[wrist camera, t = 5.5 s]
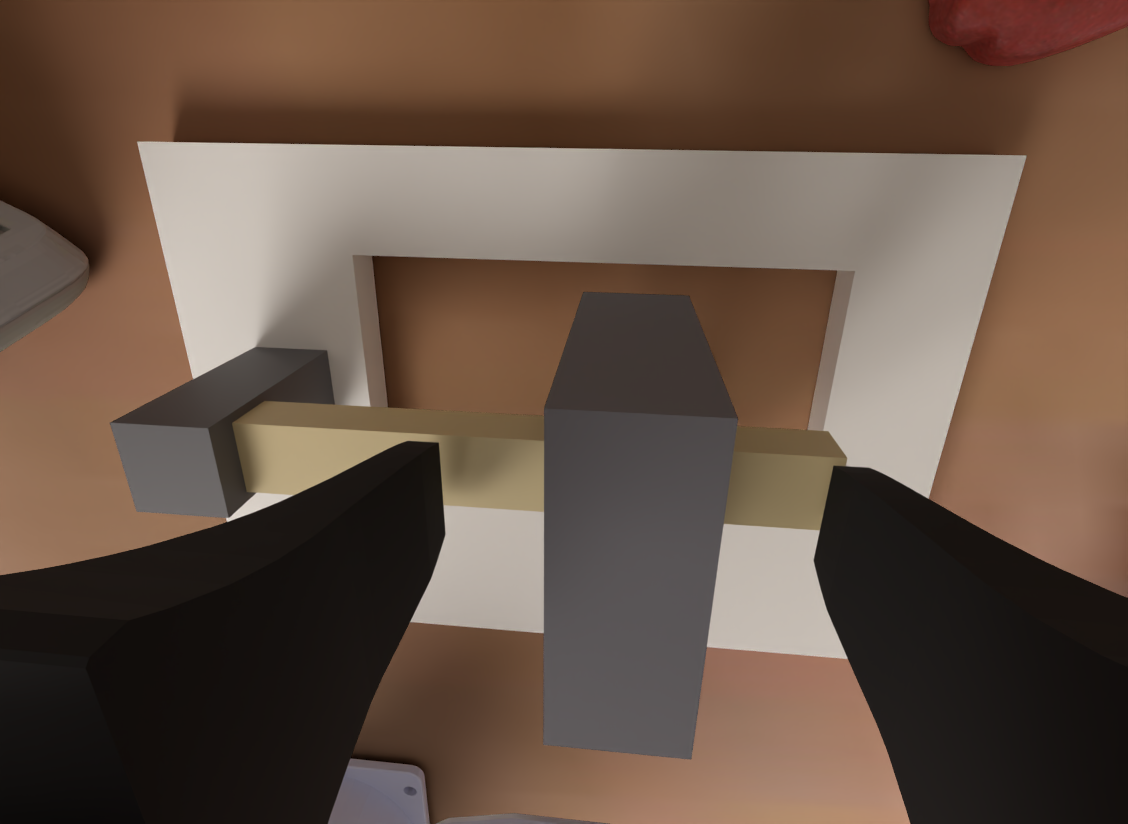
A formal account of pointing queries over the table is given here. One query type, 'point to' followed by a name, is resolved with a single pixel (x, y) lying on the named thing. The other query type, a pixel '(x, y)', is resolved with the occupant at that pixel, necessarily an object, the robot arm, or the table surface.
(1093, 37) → the stacking bear
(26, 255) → the digital clock
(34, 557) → the table surface
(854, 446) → the white slotted board
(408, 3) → the table surface
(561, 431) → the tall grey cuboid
